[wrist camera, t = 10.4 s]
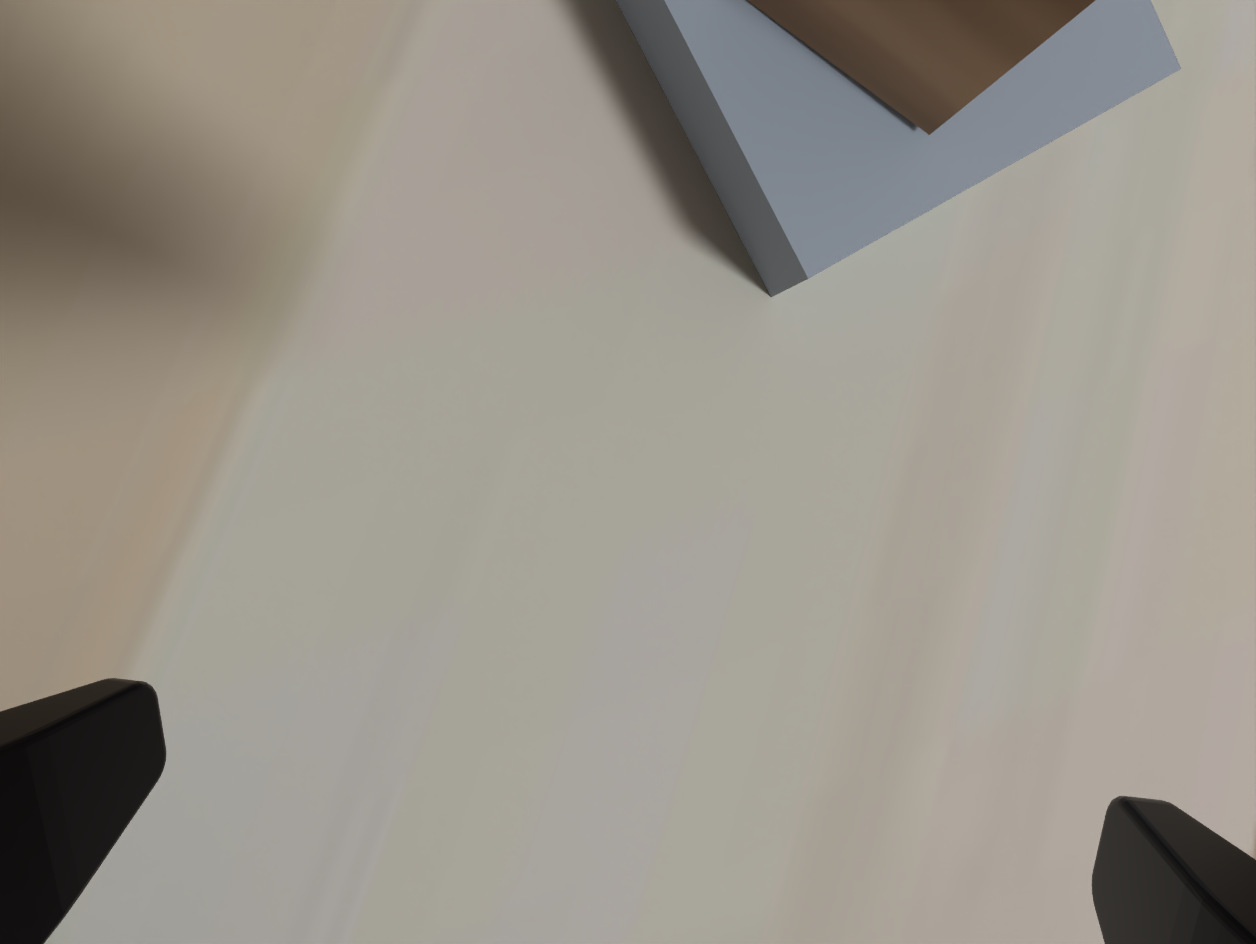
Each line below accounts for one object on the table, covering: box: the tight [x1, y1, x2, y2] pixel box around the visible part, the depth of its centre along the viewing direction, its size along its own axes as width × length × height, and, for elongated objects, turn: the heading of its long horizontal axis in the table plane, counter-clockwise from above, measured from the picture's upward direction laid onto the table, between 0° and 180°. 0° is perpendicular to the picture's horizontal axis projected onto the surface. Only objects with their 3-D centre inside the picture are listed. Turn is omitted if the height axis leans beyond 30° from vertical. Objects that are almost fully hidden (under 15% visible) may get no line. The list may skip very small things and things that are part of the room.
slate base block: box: [616, 0, 1181, 297], centre depth 18 cm, size 9×9×3 cm
